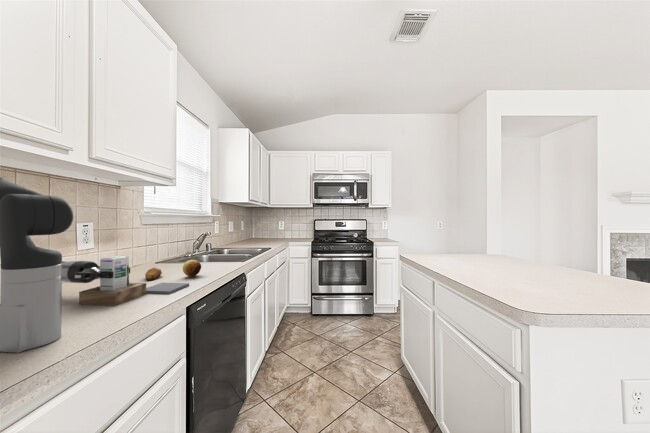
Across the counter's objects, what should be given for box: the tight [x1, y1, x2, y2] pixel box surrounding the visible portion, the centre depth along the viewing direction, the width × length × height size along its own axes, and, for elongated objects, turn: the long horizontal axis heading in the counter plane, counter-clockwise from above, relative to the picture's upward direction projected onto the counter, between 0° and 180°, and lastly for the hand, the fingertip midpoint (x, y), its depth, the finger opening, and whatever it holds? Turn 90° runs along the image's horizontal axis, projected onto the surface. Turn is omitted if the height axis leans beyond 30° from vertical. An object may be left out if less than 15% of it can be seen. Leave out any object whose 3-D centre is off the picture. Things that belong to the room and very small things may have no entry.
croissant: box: [144, 267, 163, 281], centre depth 122 cm, size 14×7×5 cm, turn 18°
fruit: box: [182, 259, 202, 278], centre depth 125 cm, size 8×8×8 cm
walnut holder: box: [78, 282, 147, 306], centre depth 91 cm, size 13×13×4 cm
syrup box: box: [99, 255, 130, 291], centre depth 91 cm, size 6×6×14 cm
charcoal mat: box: [146, 282, 190, 295], centre depth 103 cm, size 12×12×1 cm
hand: (121, 272), depth 91 cm, fingers closed on syrup box, 6 cm apart
